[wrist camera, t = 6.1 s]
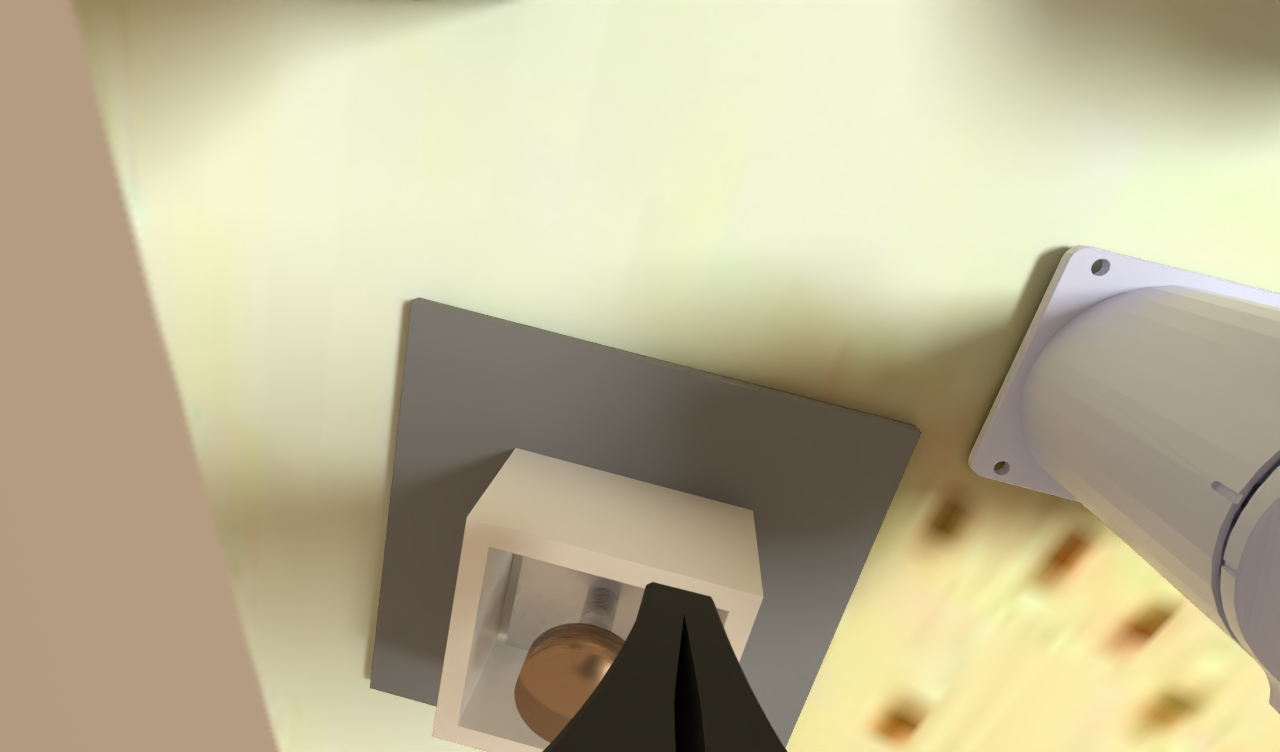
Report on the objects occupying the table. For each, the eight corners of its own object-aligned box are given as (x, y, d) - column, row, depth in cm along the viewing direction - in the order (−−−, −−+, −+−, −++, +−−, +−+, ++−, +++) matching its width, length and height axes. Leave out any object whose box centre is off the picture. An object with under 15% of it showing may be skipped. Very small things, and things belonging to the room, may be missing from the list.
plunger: (708, 544, 22) (708, 649, 17) (665, 678, 24) (654, 804, 19) (537, 499, 22) (489, 590, 17) (509, 635, 24) (459, 750, 20)
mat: (915, 425, 21) (920, 432, 21) (763, 784, 27) (764, 797, 27) (419, 297, 22) (411, 301, 21) (376, 677, 28) (369, 687, 27)
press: (753, 510, 22) (763, 596, 18) (690, 693, 25) (685, 807, 21) (515, 447, 23) (466, 517, 18) (481, 636, 26) (432, 736, 21)
